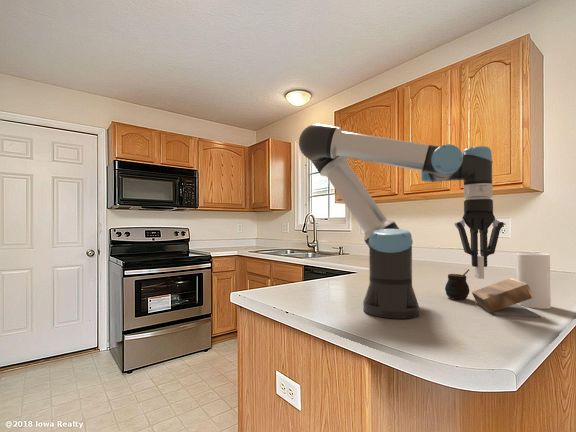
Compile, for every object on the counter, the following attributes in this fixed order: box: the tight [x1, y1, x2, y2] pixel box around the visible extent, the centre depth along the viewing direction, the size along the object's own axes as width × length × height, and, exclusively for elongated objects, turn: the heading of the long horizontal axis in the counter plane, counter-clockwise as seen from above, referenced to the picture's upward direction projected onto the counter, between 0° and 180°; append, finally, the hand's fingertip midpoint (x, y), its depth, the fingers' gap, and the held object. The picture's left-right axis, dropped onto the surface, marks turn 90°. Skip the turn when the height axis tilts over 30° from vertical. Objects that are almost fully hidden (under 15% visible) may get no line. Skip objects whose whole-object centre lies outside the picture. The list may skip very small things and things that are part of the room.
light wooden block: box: [471, 277, 534, 314], centre depth 93 cm, size 4×10×12 cm
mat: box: [491, 304, 542, 318], centre depth 93 cm, size 11×13×1 cm
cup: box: [515, 252, 552, 310], centre depth 98 cm, size 8×8×16 cm
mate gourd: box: [444, 269, 470, 301], centre depth 107 cm, size 7×8×10 cm
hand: (479, 277), depth 94 cm, fingers closed
